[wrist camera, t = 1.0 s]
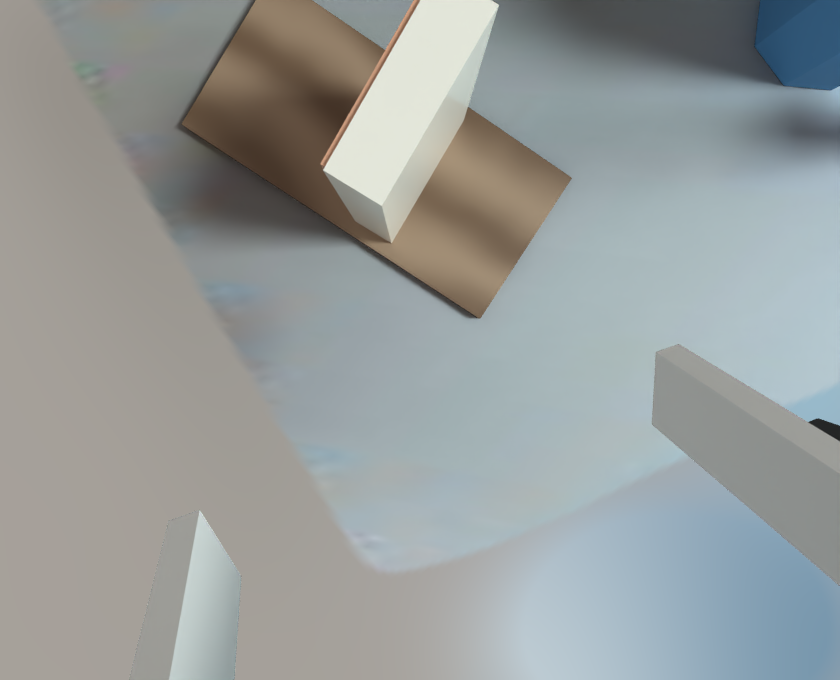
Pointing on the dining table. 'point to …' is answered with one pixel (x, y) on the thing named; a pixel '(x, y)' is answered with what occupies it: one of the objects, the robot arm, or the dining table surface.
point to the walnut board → (320, 123)
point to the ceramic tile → (409, 111)
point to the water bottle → (801, 41)
